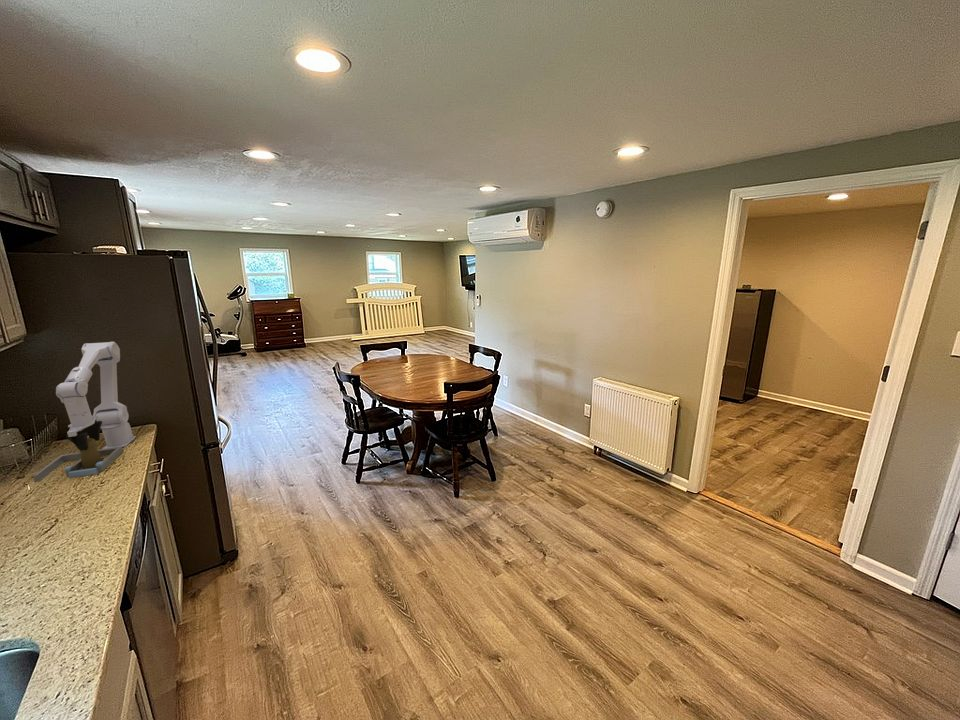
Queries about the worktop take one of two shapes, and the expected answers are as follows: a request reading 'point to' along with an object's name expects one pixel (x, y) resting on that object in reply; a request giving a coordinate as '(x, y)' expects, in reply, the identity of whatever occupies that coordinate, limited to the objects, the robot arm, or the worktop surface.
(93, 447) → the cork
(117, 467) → the worktop surface
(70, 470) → the blue open frame
